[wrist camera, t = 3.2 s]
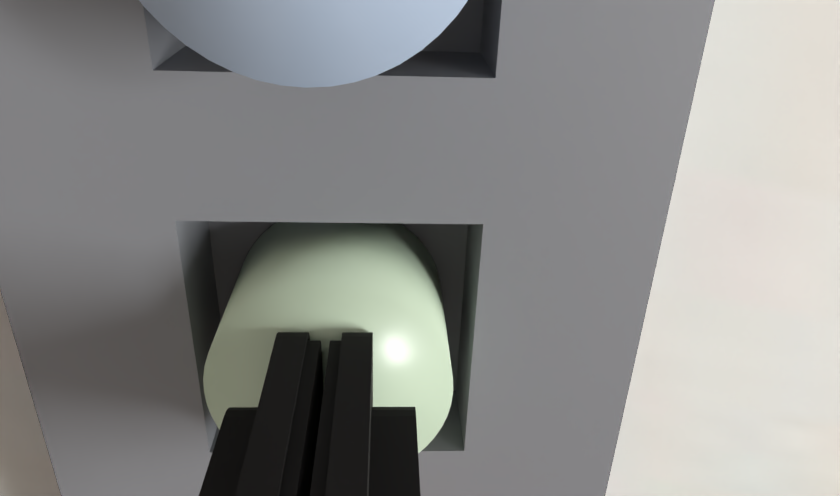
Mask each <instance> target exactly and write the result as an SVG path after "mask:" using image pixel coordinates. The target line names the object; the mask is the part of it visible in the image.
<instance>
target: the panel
mask: <svg viewBox="0 0 840 496" xmlns="http://www.w3.org/2000/svg"><path fill="white" fill-rule="evenodd" d="M714 1H715V0H468V1H467V2H466V4H465V5H464V7H463V8H462V9H461V11H460V12H459V14H458V15H457V16H456V17H455V19H454V20H453V21H452V22H451V23H450V24H449V25H448V26H447V27H446V28H445V30H444V31H443V32H442V33H441V34H440V35H439V36H438V37H437V38H435V39H434V40H433V41H432V42H431V43H429V44H428V45H427V46H426V47H425V48H424V49H422V50H421V51H420V52H418V53H417V54H415V55H414V56H412V57H411V58H409V59H408V60H406V61H404V62H403V63H401V64H400V65H398V66H396V67H394V68H391V69H389V70H387V71H385V72H383V73H381V74H379V75H376V76H373V77H370V78H367V79H364V80H360V81H357V82H354V83H348V84H343V85H337V86H331V87H311V88H303V87H292V86H281V85H276V84H272V83H267V82H262V81H258V80H255V79H252V78H249V77H246V76H243V75H240V74H237V73H235V72H232V71H230V70H228V69H226V68H224V67H222V66H220V65H218V64H216V63H214V62H212V61H209V60H208V59H206V58H205V57H203V56H202V55H200V54H198V53H197V52H195V51H194V50H192V49H191V48H189V47H188V46H186V45H185V44H184V43H182V42H181V41H180V40H179V39H178V38H176V37H175V36H174V35H173V34H171V33H170V32H169V31H168V30H167V29H165V28H164V27H163V26H162V25H161V24H160V23H159V22H158V21H157V20H156V19H155V18H154V17H153V16H152V15H151V14H150V12H149V11H148V10H147V9H146V8H145V7H144V6H143V5H142V4H141V2H140V1H139V0H0V290H1V294H2V297H3V300H4V304H5V307H6V311H7V314H8V317H9V321H10V324H11V328H12V331H13V334H14V338H15V341H16V344H17V348H18V351H19V355H20V358H21V361H22V365H23V368H24V371H25V375H26V378H27V382H28V385H29V388H30V392H31V395H32V398H33V402H34V405H35V409H36V412H37V415H38V419H39V422H40V426H41V429H42V432H43V436H44V439H45V442H46V446H47V449H48V453H49V456H50V459H51V463H52V466H53V469H54V473H55V476H56V480H57V483H58V486H59V490H60V493H61V496H199V493H200V490H201V487H202V484H203V481H204V478H205V474H206V471H207V468H208V465H209V462H210V459H211V455H212V452H213V449H214V446H215V443H216V440H217V436H218V433H219V428H218V427H217V425H216V423H215V421H214V420H213V418H212V416H211V414H210V411H209V409H208V406H207V403H206V399H205V394H204V385H203V376H204V367H205V363H206V359H207V356H208V352H209V350H210V347H211V345H212V342H213V340H214V337H215V334H216V332H217V329H218V327H219V324H220V322H221V319H222V317H223V314H224V311H225V309H226V306H227V304H228V301H229V299H230V296H231V294H232V291H233V289H234V286H235V283H236V281H237V278H238V276H239V273H240V271H241V268H242V266H243V263H244V261H245V259H246V257H247V254H248V252H249V251H250V249H251V248H252V246H253V245H254V243H255V242H256V241H257V240H258V238H259V237H260V236H261V235H262V234H263V233H264V232H265V231H266V230H268V229H269V228H270V227H271V226H272V225H274V224H275V223H277V222H315V223H400V224H402V225H403V226H405V227H406V228H407V229H408V230H409V231H411V232H412V233H413V234H414V235H415V236H416V237H417V238H418V239H419V240H420V241H421V242H422V243H423V245H424V246H425V248H426V249H427V250H428V252H429V253H430V255H431V257H432V259H433V261H434V263H435V266H436V269H437V272H438V275H439V280H440V286H441V293H442V300H443V308H444V315H445V323H446V330H447V337H448V345H449V352H450V360H451V367H452V375H453V396H452V403H451V407H450V410H449V413H448V416H447V418H446V420H445V422H444V424H443V426H442V428H441V429H440V431H439V432H438V433H437V435H436V436H435V438H434V439H433V440H432V441H431V442H430V443H429V444H428V445H427V446H426V447H425V448H424V449H423V450H422V451H421V452H419V453H418V459H419V477H420V495H421V496H605V493H606V489H607V484H608V480H609V475H610V471H611V466H612V462H613V457H614V453H615V448H616V444H617V439H618V435H619V430H620V426H621V421H622V417H623V412H624V408H625V403H626V399H627V394H628V390H629V385H630V381H631V376H632V372H633V367H634V363H635V358H636V354H637V349H638V344H639V340H640V335H641V331H642V326H643V322H644V317H645V313H646V308H647V304H648V299H649V295H650V290H651V286H652V281H653V277H654V272H655V268H656V263H657V259H658V254H659V250H660V245H661V241H662V236H663V232H664V227H665V223H666V218H667V214H668V209H669V205H670V200H671V195H672V191H673V186H674V182H675V177H676V173H677V168H678V164H679V159H680V155H681V150H682V146H683V141H684V137H685V132H686V128H687V123H688V119H689V114H690V110H691V105H692V101H693V96H694V92H695V87H696V83H697V78H698V74H699V69H700V65H701V60H702V56H703V51H704V47H705V42H706V37H707V33H708V28H709V24H710V19H711V15H712V10H713V6H714Z"/></svg>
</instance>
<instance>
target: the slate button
mask: <svg viewBox="0 0 840 496" xmlns="http://www.w3.org/2000/svg"><path fill="white" fill-rule="evenodd" d="M139 1H140V2H141V4H142V5H143V6H144V7H145V8H146V9H147V10H148V11H149V12H150V14H151V15H152V16H153V17H154V18H155V19H156V20H157V21H158V22H159V23H160V24H161V25H162V26H163V27H164V28H165V29H167V30H168V31H169V32H170V33H171V34H173V35H174V36H175V37H176V38H178V39H179V40H180V41H181V42H182V43H184V44H185V45H186V46H188V47H189V48H191V49H192V50H194V51H195V52H197V53H198V54H200V55H202V56H203V57H205V58H206V59H208V60H209V61H212V62H214V63H216V64H218V65H220V66H222V67H224V68H226V69H228V70H230V71H232V72H235V73H237V74H240V75H243V76H246V77H249V78H252V79H255V80H258V81H262V82H267V83H272V84H276V85H281V86H292V87H303V88H311V87H331V86H337V85H343V84H348V83H354V82H357V81H360V80H364V79H367V78H370V77H373V76H376V75H379V74H381V73H383V72H385V71H387V70H389V69H391V68H394V67H396V66H398V65H400V64H401V63H403V62H404V61H406V60H408V59H409V58H411V57H412V56H414V55H415V54H417V53H418V52H420V51H421V50H422V49H424V48H425V47H426V46H427V45H428V44H429V43H431V42H432V41H433V40H434V39H435V38H437V37H438V36H439V35H440V34H441V33H442V32H443V31H444V30H445V28H446V27H447V26H448V25H449V24H450V23H451V22H452V21H453V20H454V19H455V17H456V16H457V15H458V14H459V12H460V11H461V9H462V8H463V7H464V5H465V4H466V2H467V1H468V0H139Z"/></svg>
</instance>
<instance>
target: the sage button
mask: <svg viewBox="0 0 840 496" xmlns="http://www.w3.org/2000/svg"><path fill="white" fill-rule="evenodd" d="M278 332H309V335H310V340H320V341H321V347H322V370H323V390H324V382H325V374H326V367H327V359H328V351H329V344H330V340H341V338H342V333H343V332H373V407H415V409H416V423H417V441H418V453H419V452H421V451H422V450H423V449H424V448H425V447H426V446H427V445H428V444H429V443H430V442H431V441H432V440H433V439H434V438H435V436H436V435H437V433H438V432H439V431H440V429H441V428H442V426H443V424H444V422H445V420H446V418H447V416H448V413H449V410H450V407H451V403H452V396H453V375H452V367H451V360H450V352H449V345H448V337H447V330H446V323H445V315H444V308H443V300H442V293H441V286H440V280H439V275H438V272H437V269H436V266H435V263H434V261H433V259H432V257H431V255H430V253H429V252H428V250H427V249H426V248H425V246H424V245H423V243H422V242H421V241H420V240H419V239H418V238H417V237H416V236H415V235H414V234H413V233H412V232H411V231H409V230H408V229H407V228H406V227H405V226H403V225H402V224H400V223H315V222H277V223H275V224H274V225H272V226H271V227H270V228H269V229H268V230H266V231H265V232H264V233H263V234H262V235H261V236H260V237H259V238H258V240H257V241H256V242H255V243H254V245H253V246H252V248H251V249H250V251H249V252H248V254H247V257H246V259H245V261H244V263H243V266H242V268H241V271H240V273H239V276H238V278H237V281H236V283H235V286H234V289H233V291H232V294H231V296H230V299H229V301H228V304H227V306H226V309H225V311H224V314H223V317H222V319H221V322H220V324H219V327H218V329H217V332H216V334H215V337H214V340H213V342H212V345H211V347H210V350H209V352H208V356H207V359H206V363H205V367H204V376H203V385H204V394H205V399H206V403H207V406H208V409H209V411H210V414H211V416H212V418H213V420H214V421H215V423H216V425H217V427H218V428H219V430H220V427H221V424H222V421H223V417H224V415H225V412H226V410H227V409H228V408H229V407H258V404H259V400H260V396H261V392H262V389H263V385H264V381H265V377H266V373H267V369H268V365H269V361H270V357H271V353H272V349H273V345H274V341H275V338H276V334H277V333H278Z"/></svg>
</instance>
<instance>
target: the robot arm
mask: <svg viewBox="0 0 840 496" xmlns="http://www.w3.org/2000/svg"><path fill="white" fill-rule="evenodd" d="M199 496H421V495H420V477H419V459H418V441H417V423H416V409H415V407H373V332H343V333H342V338H341V340H330V344H329V351H328V359H327V367H326V374H325V382H324V390H323V370H322V347H321V341H320V340H310V335H309V332H278V333H277V334H276V338H275V341H274V345H273V349H272V353H271V357H270V361H269V365H268V369H267V373H266V377H265V381H264V385H263V389H262V392H261V396H260V400H259V404H258V407H229V408H228V409H227V410H226V412H225V415H224V417H223V421H222V424H221V427H220V430H219V433H218V436H217V440H216V443H215V446H214V449H213V452H212V455H211V459H210V462H209V465H208V468H207V471H206V474H205V478H204V481H203V484H202V487H201V490H200V493H199Z"/></svg>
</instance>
